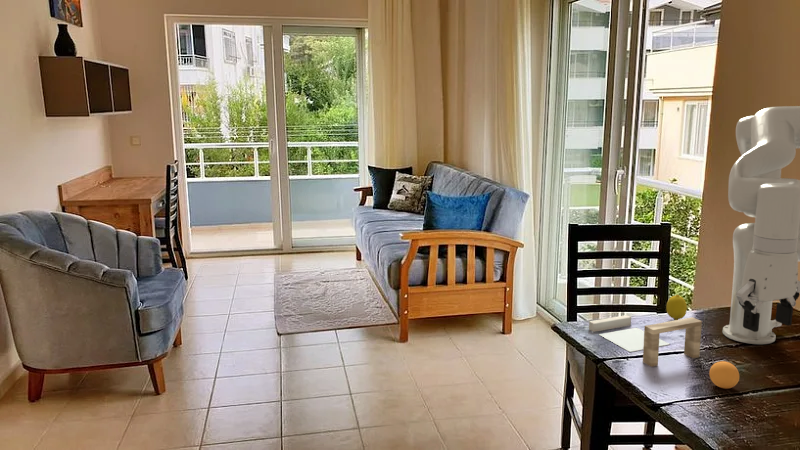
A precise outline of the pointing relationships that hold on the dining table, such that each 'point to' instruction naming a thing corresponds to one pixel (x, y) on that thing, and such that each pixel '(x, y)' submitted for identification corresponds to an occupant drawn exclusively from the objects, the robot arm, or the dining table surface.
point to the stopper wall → (609, 323)
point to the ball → (724, 374)
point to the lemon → (676, 307)
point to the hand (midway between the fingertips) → (767, 326)
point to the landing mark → (629, 339)
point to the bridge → (654, 331)
